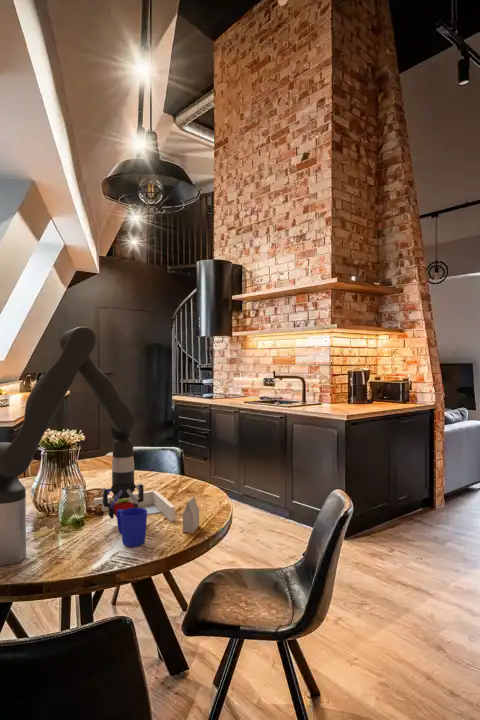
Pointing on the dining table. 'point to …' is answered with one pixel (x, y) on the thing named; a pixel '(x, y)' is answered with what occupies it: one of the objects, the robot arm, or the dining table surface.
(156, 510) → the corner arena
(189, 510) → the grey house-shaped block
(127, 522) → the mug
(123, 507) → the strawberry
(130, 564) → the dining table surface
